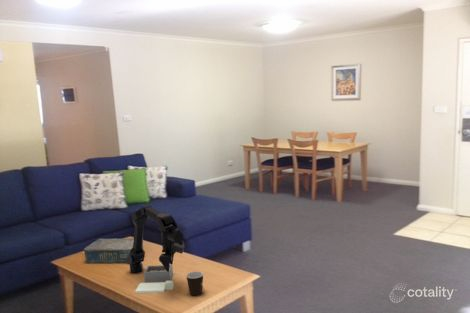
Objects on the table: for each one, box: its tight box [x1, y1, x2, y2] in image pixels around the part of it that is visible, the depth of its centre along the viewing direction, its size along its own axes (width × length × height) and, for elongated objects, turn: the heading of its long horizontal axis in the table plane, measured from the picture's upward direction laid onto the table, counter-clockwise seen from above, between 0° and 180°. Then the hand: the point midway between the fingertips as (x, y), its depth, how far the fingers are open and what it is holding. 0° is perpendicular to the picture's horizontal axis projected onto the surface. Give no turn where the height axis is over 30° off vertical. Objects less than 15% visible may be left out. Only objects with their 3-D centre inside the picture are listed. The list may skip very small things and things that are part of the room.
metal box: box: [83, 238, 144, 264], centre depth 276 cm, size 21×32×10 cm, turn 82°
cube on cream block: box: [134, 280, 175, 294], centre depth 225 cm, size 19×10×4 cm, turn 87°
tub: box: [143, 264, 174, 283], centre depth 238 cm, size 14×9×6 cm, turn 87°
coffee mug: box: [186, 270, 204, 297], centre depth 219 cm, size 12×9×10 cm
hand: (169, 267), depth 223 cm, fingers open, 9 cm apart
